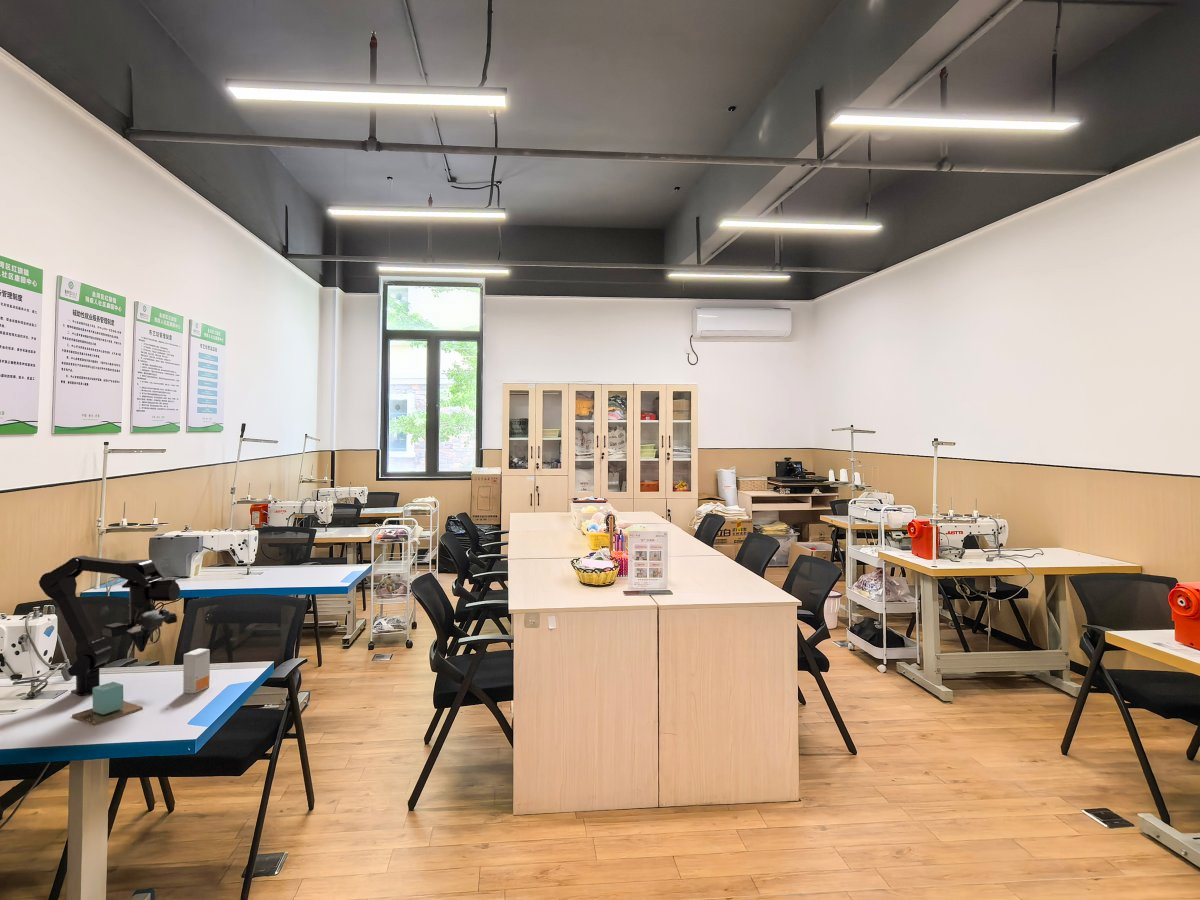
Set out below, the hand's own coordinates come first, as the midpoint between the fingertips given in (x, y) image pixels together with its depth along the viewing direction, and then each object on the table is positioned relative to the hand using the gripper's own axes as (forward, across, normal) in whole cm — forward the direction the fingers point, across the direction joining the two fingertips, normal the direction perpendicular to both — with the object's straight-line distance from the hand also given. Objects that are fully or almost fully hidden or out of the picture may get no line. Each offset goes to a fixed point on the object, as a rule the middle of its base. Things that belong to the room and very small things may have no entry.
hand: (141, 651), depth 201 cm
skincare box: (+12, +8, -15) cm, 21 cm away
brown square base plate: (+12, -14, -10) cm, 21 cm away
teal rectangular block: (+11, -14, -10) cm, 20 cm away
